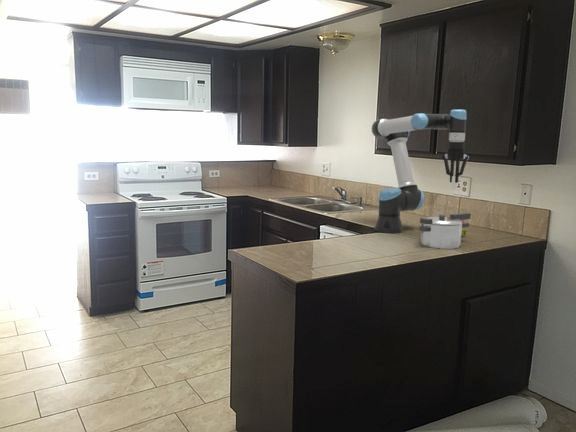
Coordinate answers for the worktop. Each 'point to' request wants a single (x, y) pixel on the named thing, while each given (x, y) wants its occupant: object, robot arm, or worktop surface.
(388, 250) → the worktop surface
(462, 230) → the bird rattle
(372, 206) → the worktop surface
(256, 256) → the worktop surface
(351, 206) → the worktop surface
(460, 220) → the lid
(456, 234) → the pot
